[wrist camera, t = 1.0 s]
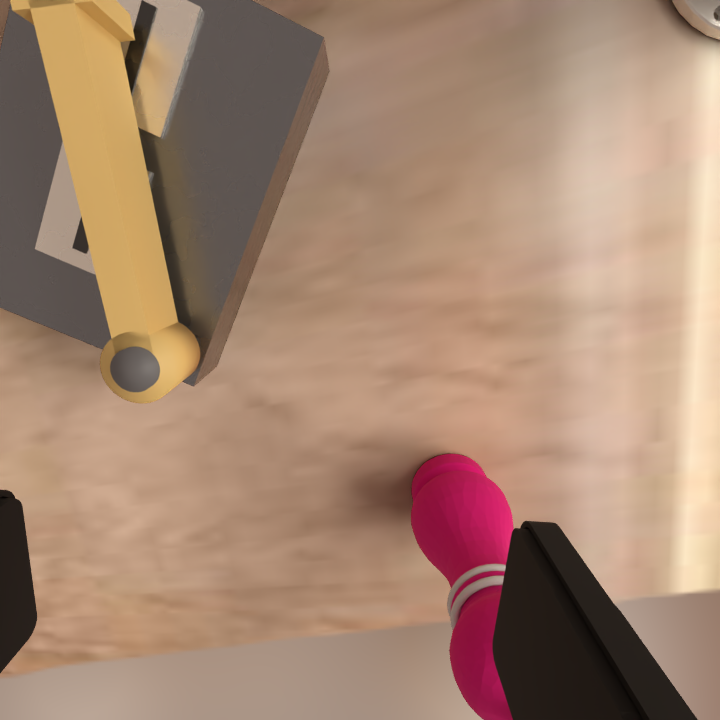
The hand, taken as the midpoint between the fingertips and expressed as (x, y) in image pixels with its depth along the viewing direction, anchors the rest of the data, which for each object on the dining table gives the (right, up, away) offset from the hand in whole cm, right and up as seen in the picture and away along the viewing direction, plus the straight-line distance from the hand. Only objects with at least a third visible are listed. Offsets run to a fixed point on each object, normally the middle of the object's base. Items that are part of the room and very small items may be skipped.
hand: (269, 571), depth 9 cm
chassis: (-12, +16, +23) cm, 30 cm away
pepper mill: (+9, -6, +29) cm, 31 cm away
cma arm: (-11, +12, +18) cm, 25 cm away
